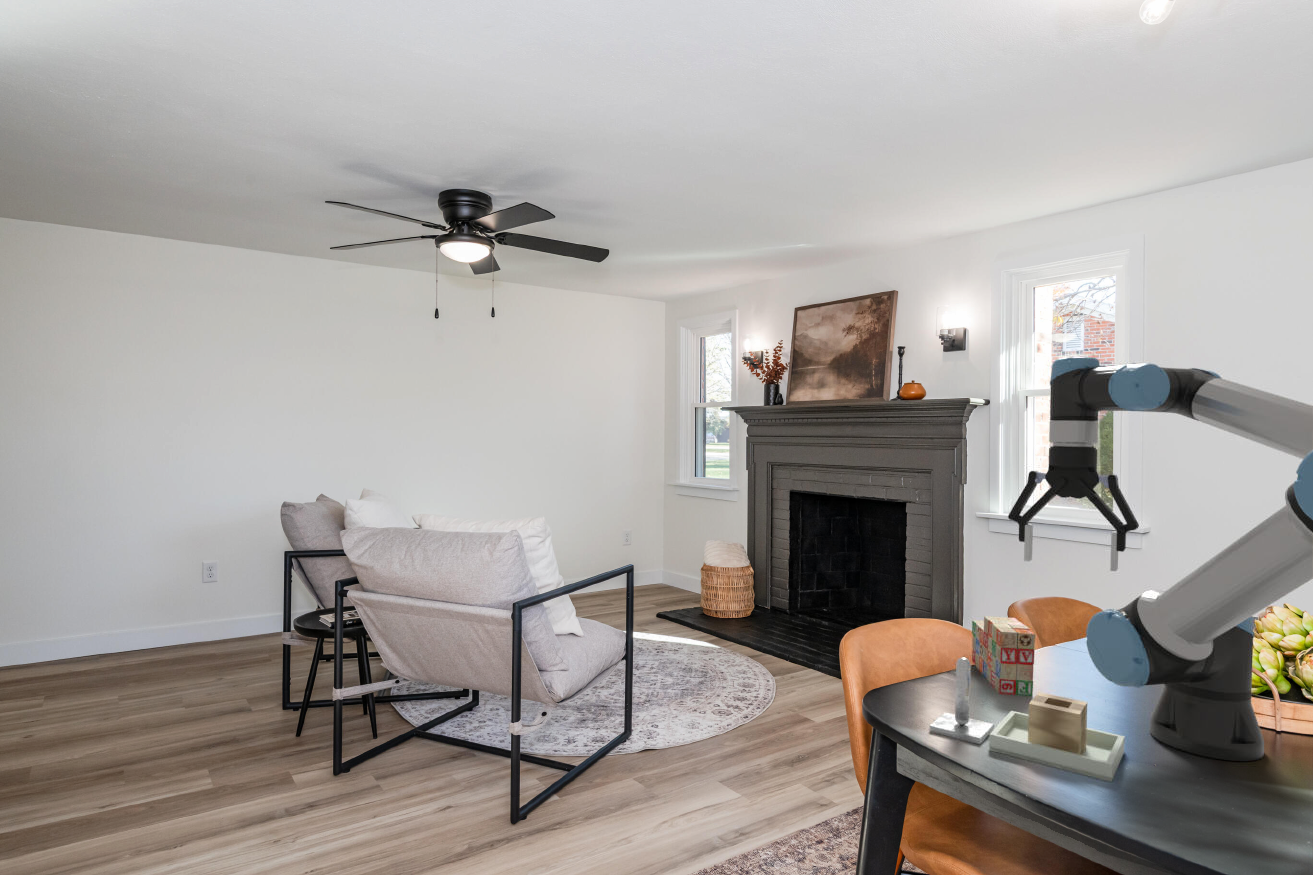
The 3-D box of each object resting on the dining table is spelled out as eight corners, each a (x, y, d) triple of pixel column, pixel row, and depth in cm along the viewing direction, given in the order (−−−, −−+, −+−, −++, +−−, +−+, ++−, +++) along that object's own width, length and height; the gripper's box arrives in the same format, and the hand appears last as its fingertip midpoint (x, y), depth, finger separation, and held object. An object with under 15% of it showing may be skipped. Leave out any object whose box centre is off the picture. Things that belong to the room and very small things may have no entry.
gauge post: (993, 729, 128) (995, 657, 128) (980, 744, 122) (982, 668, 122) (944, 717, 133) (946, 648, 133) (929, 731, 127) (931, 658, 126)
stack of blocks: (970, 661, 167) (972, 605, 167) (1001, 663, 166) (1002, 607, 166) (999, 694, 146) (1000, 630, 146) (1033, 697, 145) (1035, 632, 145)
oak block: (1086, 746, 120) (1087, 702, 120) (1078, 760, 115) (1079, 714, 115) (1037, 734, 125) (1038, 692, 125) (1027, 748, 119) (1028, 703, 119)
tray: (1124, 752, 120) (1124, 736, 120) (1111, 781, 109) (1111, 764, 109) (1010, 725, 130) (1011, 710, 130) (989, 750, 120) (989, 734, 120)
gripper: (1159, 447, 130) (1155, 571, 131) (1003, 443, 146) (1000, 554, 146) (1154, 447, 125) (1150, 577, 125) (992, 443, 140) (989, 558, 140)
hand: (1069, 565), depth 135 cm, fingers open, 13 cm apart
